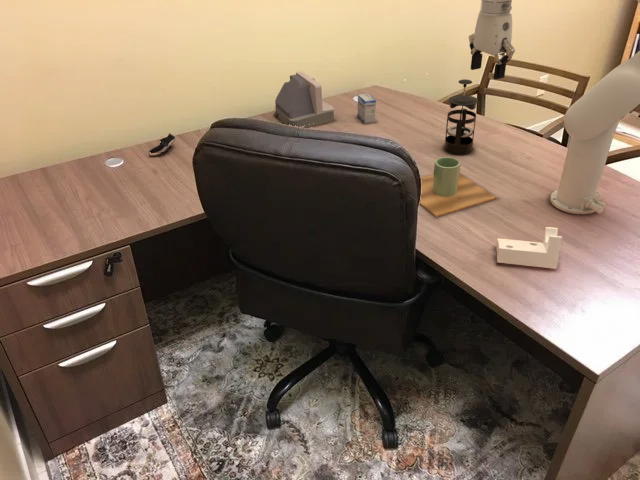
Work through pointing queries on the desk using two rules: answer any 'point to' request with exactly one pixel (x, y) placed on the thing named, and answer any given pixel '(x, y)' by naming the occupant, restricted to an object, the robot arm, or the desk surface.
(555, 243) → the bracket
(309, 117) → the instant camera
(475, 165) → the desk surface
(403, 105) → the desk surface
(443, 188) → the pot
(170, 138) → the black shoe
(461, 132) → the french press
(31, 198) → the desk surface
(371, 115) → the medicine box
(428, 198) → the mat
